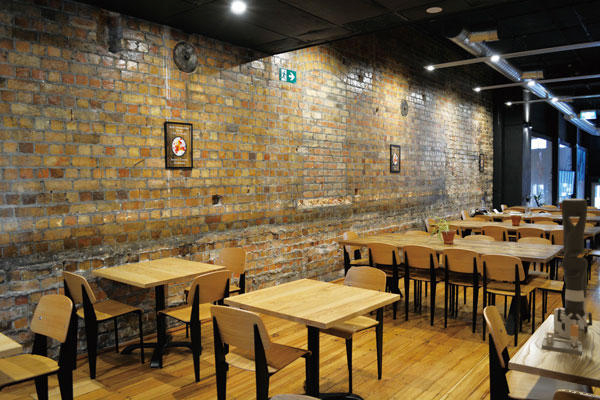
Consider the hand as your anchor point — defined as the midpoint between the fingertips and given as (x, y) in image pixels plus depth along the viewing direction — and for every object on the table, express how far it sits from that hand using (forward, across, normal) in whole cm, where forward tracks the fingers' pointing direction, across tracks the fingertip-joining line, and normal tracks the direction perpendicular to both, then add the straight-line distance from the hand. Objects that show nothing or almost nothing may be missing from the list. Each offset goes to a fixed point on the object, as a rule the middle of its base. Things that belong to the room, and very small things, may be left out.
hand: (574, 332), depth 212 cm
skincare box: (+8, +7, -24) cm, 26 cm away
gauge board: (+8, +5, +2) cm, 9 cm away
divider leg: (+6, 0, +2) cm, 6 cm away
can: (+8, +4, -16) cm, 18 cm away
